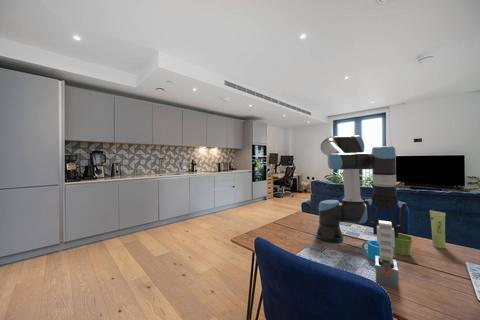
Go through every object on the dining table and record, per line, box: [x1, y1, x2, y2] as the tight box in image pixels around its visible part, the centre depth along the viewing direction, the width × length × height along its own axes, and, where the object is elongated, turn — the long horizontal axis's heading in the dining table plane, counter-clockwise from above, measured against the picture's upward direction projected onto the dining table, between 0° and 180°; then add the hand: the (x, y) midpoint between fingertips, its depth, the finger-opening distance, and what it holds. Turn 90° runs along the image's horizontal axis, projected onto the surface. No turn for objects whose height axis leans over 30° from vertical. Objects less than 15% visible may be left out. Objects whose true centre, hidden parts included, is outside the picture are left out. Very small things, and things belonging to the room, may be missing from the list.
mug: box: [361, 239, 380, 262], centre depth 95 cm, size 12×8×8 cm
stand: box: [375, 256, 400, 290], centre depth 76 cm, size 18×12×10 cm, turn 55°
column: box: [378, 219, 394, 267], centre depth 76 cm, size 4×6×16 cm
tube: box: [429, 209, 447, 249], centre depth 106 cm, size 6×5×20 cm
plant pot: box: [392, 232, 414, 257], centre depth 100 cm, size 9×9×9 cm
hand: (385, 244), depth 76 cm, fingers closed on column, 4 cm apart
